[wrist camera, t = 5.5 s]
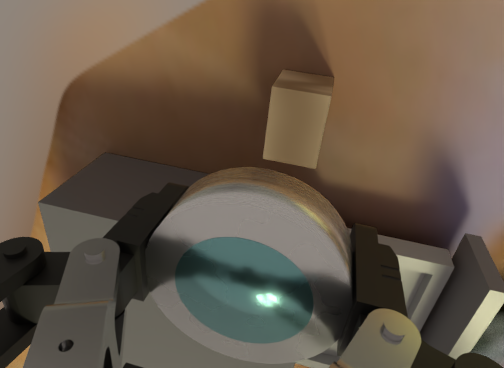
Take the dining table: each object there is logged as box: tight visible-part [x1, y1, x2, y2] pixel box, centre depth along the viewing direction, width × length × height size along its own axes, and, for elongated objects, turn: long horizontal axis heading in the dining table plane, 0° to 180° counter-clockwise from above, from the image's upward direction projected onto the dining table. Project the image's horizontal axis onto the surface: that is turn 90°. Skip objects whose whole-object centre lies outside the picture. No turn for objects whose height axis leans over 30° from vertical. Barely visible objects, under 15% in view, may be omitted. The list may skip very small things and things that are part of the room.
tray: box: [295, 228, 504, 368], centre depth 28 cm, size 18×18×5 cm
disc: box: [145, 167, 353, 364], centre depth 11 cm, size 6×6×2 cm
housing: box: [38, 152, 327, 368], centre depth 29 cm, size 18×17×8 cm
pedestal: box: [263, 69, 334, 169], centre depth 22 cm, size 3×4×4 cm
